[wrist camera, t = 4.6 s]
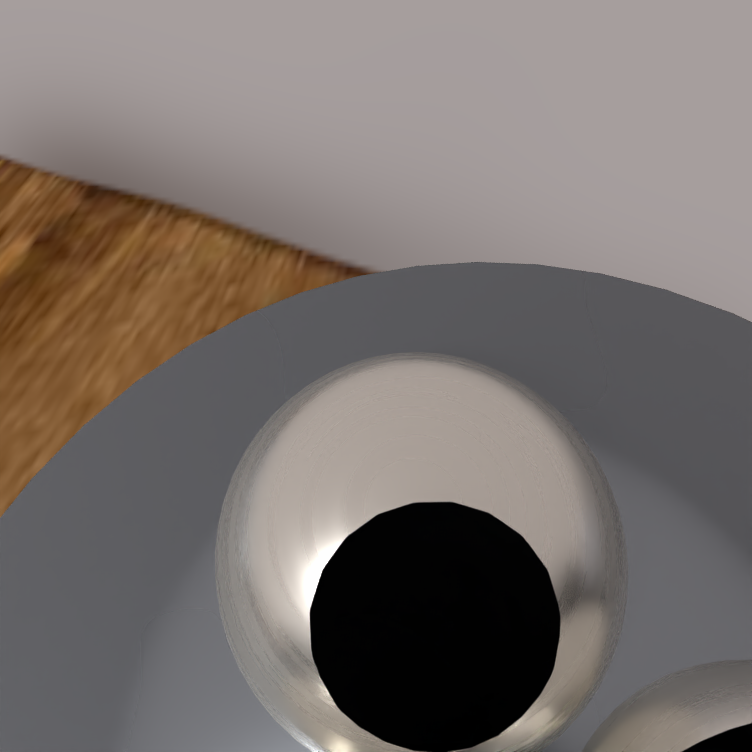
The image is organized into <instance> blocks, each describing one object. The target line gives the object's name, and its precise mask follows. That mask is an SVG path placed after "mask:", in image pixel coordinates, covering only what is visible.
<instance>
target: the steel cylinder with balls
mask: <svg viewBox="0 0 752 752" xmlns="http://www.w3.org/2000/svg"><path fill="white" fill-rule="evenodd" d="M0 752H752V322H750V321H748V320H746V319H744V318H741V317H739V316H737V315H735V314H733V313H730V312H727V311H724V310H722V309H719V308H716V307H713V306H710V305H708V304H705V303H702V302H699V301H696V300H693V299H690V298H688V297H685V296H682V295H679V294H676V293H674V292H671V291H668V290H665V289H661V288H657V287H653V286H649V285H645V284H641V283H637V282H633V281H629V280H625V279H621V278H616V277H613V276H608V275H605V274H600V273H592V272H586V271H579V270H572V269H565V268H558V267H551V266H544V265H536V264H510V263H486V262H485V263H484V262H474V263H473V262H471V263H457V264H441V265H425V266H415V267H409V268H403V269H398V270H391V271H386V272H380V273H374V274H368V275H362V276H358V277H354V278H351V279H347V280H344V281H340V282H337V283H333V284H330V285H326V286H323V287H319V288H316V289H312V290H309V291H305V292H302V293H299V294H297V295H294V296H292V297H289V298H287V299H284V300H282V301H279V302H277V303H275V304H272V305H270V306H267V307H265V308H262V309H260V310H257V311H255V312H252V313H250V314H247V315H245V316H243V317H241V318H240V319H238V320H236V321H234V322H232V323H230V324H228V325H226V326H225V327H223V328H221V329H219V330H217V331H215V332H213V333H212V334H210V335H208V336H206V337H204V338H202V339H200V340H198V341H197V342H195V343H193V344H191V345H189V346H188V347H186V348H185V349H184V350H182V351H181V352H179V353H178V354H176V355H175V356H173V357H172V358H170V359H169V360H167V361H166V362H164V363H163V364H161V365H160V366H158V367H157V368H155V369H154V370H153V371H151V372H150V373H148V374H147V375H145V376H144V377H142V378H141V379H139V380H138V381H136V382H135V383H134V384H133V385H132V386H130V387H129V388H128V389H127V390H126V391H124V392H123V393H122V394H121V395H120V396H118V397H117V398H116V399H115V400H114V401H113V402H111V403H110V404H109V405H108V406H107V407H105V408H104V409H103V410H102V411H101V412H99V413H98V414H97V415H96V416H95V417H93V418H92V419H91V420H90V421H89V422H87V423H86V424H85V425H84V426H83V427H82V428H81V429H80V430H79V431H78V432H77V433H76V434H75V435H74V436H73V437H72V438H71V439H70V440H69V441H68V442H67V443H66V444H65V445H64V446H63V447H62V448H61V449H60V450H59V451H58V452H57V454H56V455H55V456H54V457H53V458H52V459H51V460H50V461H49V462H48V463H47V464H46V465H45V466H44V467H43V468H42V469H41V470H40V471H39V472H38V473H37V474H36V475H35V476H34V477H33V478H32V479H31V480H30V482H29V483H28V484H27V485H26V487H25V488H24V489H23V490H22V492H21V493H20V494H19V495H18V497H17V498H16V499H15V500H14V502H13V503H12V504H11V505H10V507H9V508H8V509H7V510H6V512H5V513H4V514H3V515H2V517H1V518H0Z"/></svg>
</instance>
